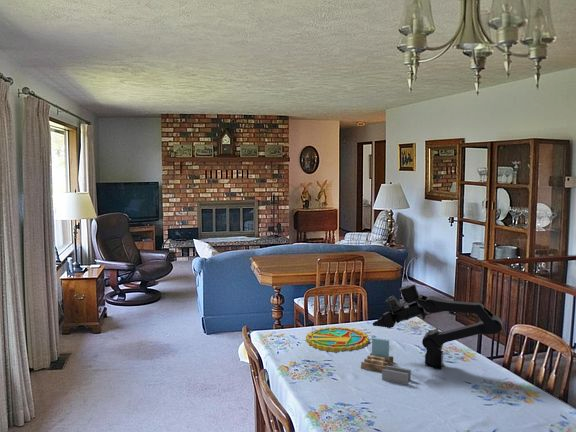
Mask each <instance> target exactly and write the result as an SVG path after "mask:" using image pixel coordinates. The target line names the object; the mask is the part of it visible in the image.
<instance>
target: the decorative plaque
mask: <svg viewBox="0 0 576 432" xmlns="http://www.w3.org/2000/svg"><path fill="white" fill-rule="evenodd" d="M368 336H369V335H368V334H366V333H365V332H363V331H361V330H358V329H355V328H349V327H342V326H340V327H339V326H338V327H337V326H331V327H327V326H326V327H320V328H318V329H314V330H311V331H309V332H307V334H306V336H305V341H306V342H305V343H307V344H308V346H311V347H312V348H316V349H317V350H319V351H320V350H322V351H325V352H332V353H334V352H335V353H336V352H339V353H340V352H342V351H348V352H349V351H352V350H357V349H362V348H363V347H365V346H367V344H369V342H370V338H369V337H368Z"/></svg>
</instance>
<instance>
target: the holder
mask: <svg viewBox="0 0 576 432" xmlns="http://www.w3.org/2000/svg"><path fill="white" fill-rule="evenodd" d="M411 379H412V369H409V368H403V367H398V366H393V365H392V366H388V365H386V366H385V369H382V372H381V380H382V381H386V382H393V383H397V384H402V385H409V383H410V381H412V380H411Z"/></svg>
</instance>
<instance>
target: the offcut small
mask: <svg viewBox="0 0 576 432" xmlns="http://www.w3.org/2000/svg"><path fill="white" fill-rule="evenodd" d="M371 363H372V364H377V365H384V361H381V360H375V359H371Z"/></svg>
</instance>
